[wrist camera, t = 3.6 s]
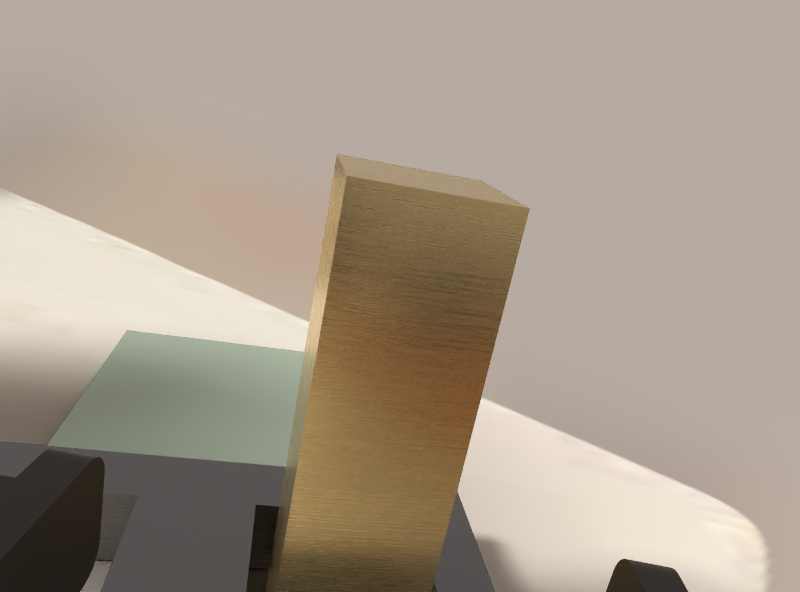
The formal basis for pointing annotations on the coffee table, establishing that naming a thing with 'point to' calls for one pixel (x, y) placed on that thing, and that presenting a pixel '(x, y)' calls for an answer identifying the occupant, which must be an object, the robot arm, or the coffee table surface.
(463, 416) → the plug
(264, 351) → the pad
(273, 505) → the frame with square holes
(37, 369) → the coffee table surface
